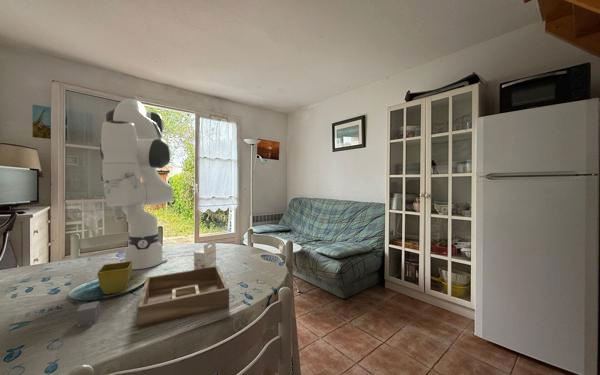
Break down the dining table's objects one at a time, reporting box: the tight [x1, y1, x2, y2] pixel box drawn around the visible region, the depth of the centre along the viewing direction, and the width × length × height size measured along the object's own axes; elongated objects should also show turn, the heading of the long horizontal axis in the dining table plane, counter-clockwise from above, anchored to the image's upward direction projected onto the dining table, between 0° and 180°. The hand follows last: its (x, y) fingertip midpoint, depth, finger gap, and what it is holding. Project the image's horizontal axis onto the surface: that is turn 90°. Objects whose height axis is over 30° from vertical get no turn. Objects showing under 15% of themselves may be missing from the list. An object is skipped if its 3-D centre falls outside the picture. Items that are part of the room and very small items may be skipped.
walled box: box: [137, 265, 230, 330], centre depth 79 cm, size 22×24×6 cm
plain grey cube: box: [75, 300, 101, 327], centre depth 67 cm, size 4×4×4 cm
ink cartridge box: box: [193, 240, 217, 270], centre depth 98 cm, size 9×5×15 cm, turn 168°
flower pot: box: [97, 261, 133, 295], centre depth 85 cm, size 9×9×9 cm
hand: (124, 221), depth 70 cm, fingers open, 8 cm apart
